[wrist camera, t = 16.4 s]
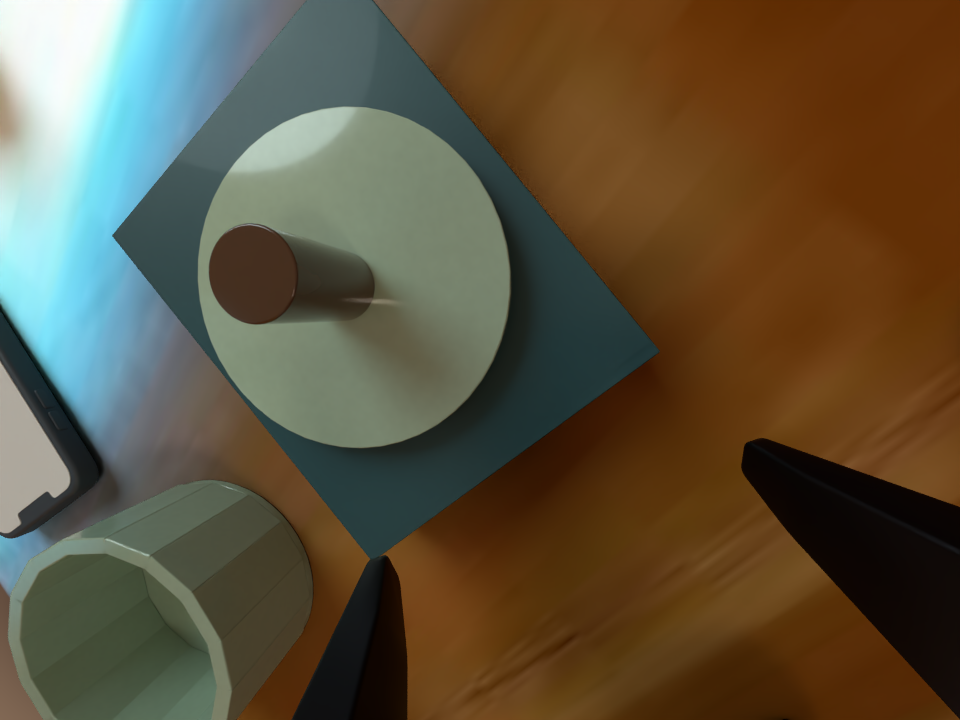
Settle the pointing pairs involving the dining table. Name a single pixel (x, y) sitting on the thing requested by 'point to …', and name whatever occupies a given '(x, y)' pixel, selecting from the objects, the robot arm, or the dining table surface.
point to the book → (533, 255)
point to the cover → (354, 277)
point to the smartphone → (35, 445)
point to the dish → (162, 609)
